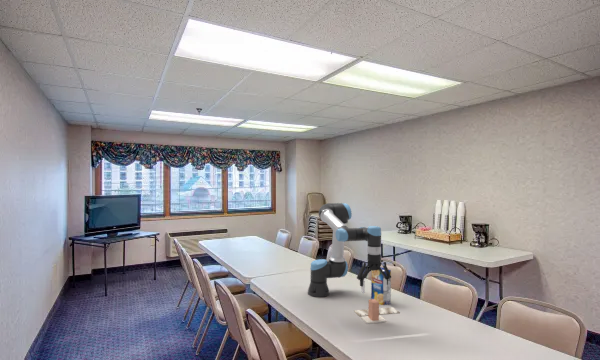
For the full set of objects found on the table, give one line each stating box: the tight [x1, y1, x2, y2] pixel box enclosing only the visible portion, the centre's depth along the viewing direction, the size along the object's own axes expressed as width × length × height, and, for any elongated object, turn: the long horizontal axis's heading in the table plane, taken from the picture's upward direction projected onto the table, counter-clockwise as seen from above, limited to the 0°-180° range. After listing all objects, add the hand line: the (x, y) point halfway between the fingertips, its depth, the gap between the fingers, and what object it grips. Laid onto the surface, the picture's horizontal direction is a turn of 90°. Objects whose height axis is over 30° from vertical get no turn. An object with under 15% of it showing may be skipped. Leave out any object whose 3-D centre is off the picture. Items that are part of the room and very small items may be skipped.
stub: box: [360, 298, 387, 325], centre depth 184 cm, size 12×7×11 cm, turn 103°
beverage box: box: [370, 266, 392, 306], centre depth 216 cm, size 7×11×22 cm, turn 31°
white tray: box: [353, 306, 401, 318], centre depth 190 cm, size 26×18×2 cm
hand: (374, 291), depth 184 cm, fingers open, 13 cm apart
